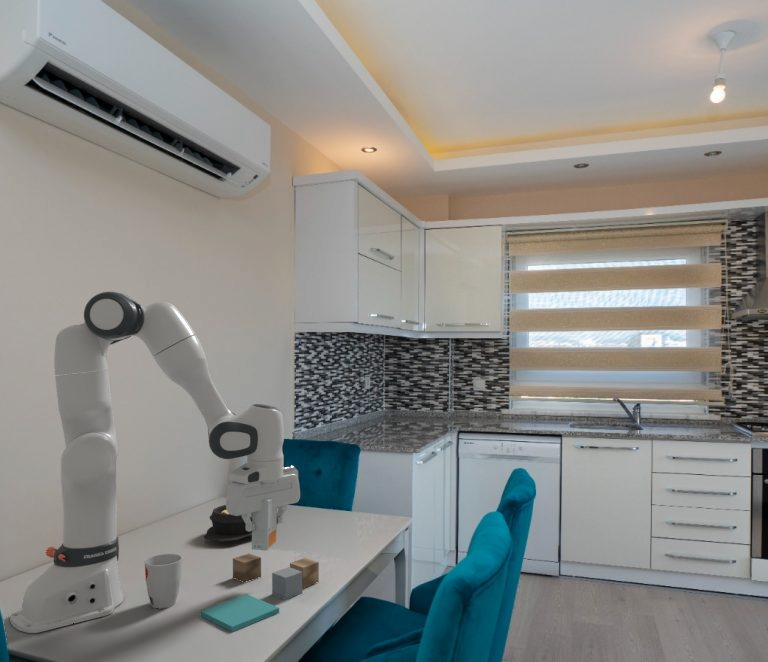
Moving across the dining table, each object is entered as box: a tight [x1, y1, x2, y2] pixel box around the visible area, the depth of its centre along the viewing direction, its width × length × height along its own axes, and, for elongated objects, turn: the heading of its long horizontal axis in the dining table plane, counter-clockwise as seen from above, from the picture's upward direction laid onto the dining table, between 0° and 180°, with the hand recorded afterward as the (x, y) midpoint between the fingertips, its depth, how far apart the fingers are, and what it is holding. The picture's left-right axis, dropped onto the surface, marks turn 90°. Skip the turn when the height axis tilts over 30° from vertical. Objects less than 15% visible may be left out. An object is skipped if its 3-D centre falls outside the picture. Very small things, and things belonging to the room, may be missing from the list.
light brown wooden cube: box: [289, 557, 320, 589], centre depth 148 cm, size 5×5×5 cm
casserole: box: [203, 504, 252, 543], centre depth 189 cm, size 25×19×8 cm
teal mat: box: [199, 593, 280, 633], centre depth 130 cm, size 12×12×1 cm
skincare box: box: [251, 498, 278, 551], centre depth 147 cm, size 6×4×12 cm
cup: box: [144, 553, 184, 610], centre depth 136 cm, size 8×8×10 cm
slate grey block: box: [271, 566, 303, 600], centre depth 141 cm, size 5×5×5 cm
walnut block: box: [232, 553, 262, 583], centre depth 152 cm, size 5×5×5 cm
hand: (264, 527), depth 147 cm, fingers closed on skincare box, 7 cm apart
